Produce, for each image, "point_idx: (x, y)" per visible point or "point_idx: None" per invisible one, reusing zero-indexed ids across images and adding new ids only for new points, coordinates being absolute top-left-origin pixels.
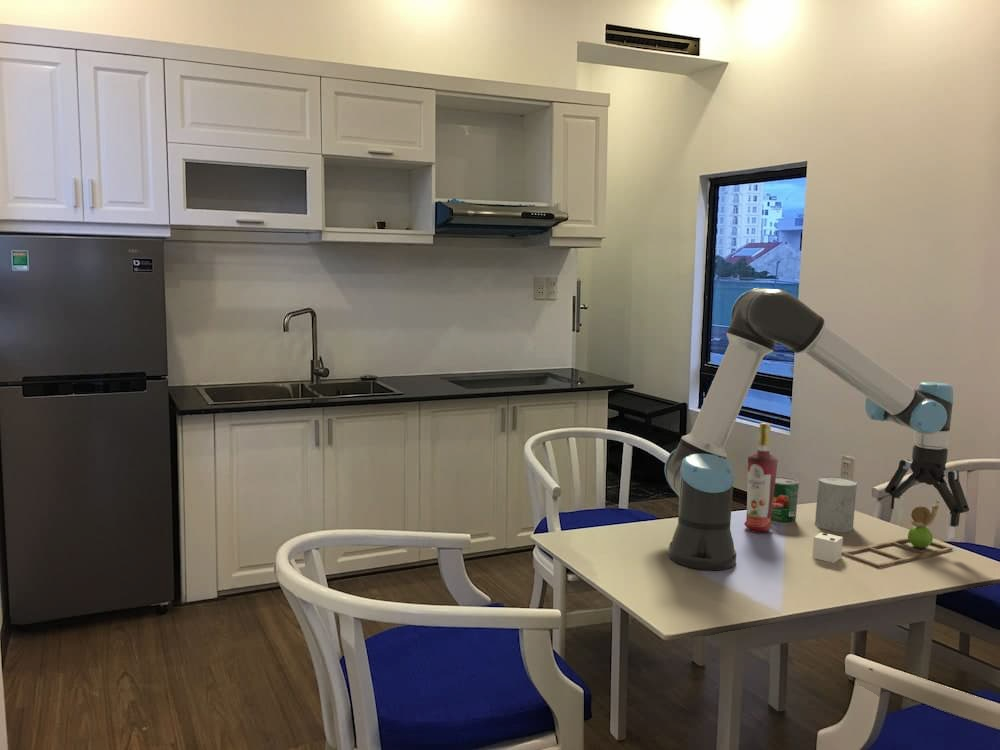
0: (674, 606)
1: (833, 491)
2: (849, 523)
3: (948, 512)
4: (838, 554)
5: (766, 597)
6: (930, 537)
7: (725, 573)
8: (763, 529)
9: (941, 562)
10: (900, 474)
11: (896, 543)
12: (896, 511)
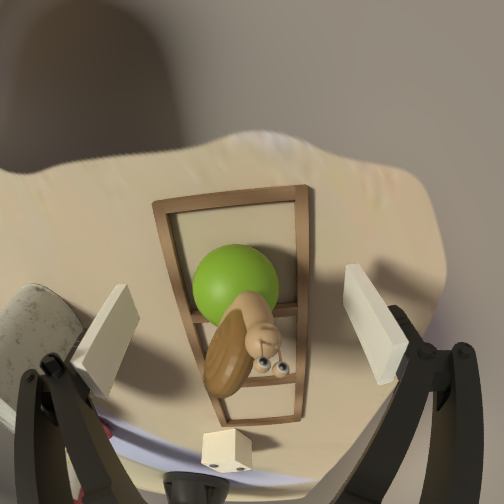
0: (277, 496)
1: None
2: (71, 336)
3: (383, 380)
4: (243, 442)
5: (295, 481)
6: (278, 290)
7: (236, 483)
8: (112, 435)
9: None
10: (70, 501)
11: (202, 320)
12: (124, 352)
